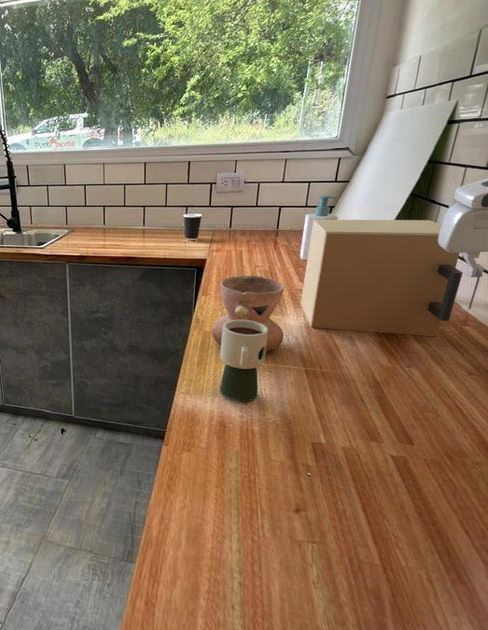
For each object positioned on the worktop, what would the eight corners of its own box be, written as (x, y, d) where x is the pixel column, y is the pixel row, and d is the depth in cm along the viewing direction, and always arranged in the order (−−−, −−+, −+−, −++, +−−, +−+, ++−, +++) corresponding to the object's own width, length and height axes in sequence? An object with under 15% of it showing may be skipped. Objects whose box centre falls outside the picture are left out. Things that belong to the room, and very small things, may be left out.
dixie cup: (203, 240, 197) (205, 215, 193) (187, 242, 196) (188, 217, 192) (195, 237, 204) (196, 213, 200) (179, 239, 203) (180, 214, 199)
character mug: (261, 414, 74) (271, 342, 69) (216, 408, 76) (222, 338, 71) (257, 382, 83) (265, 317, 78) (217, 377, 85) (223, 314, 81)
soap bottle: (331, 262, 156) (343, 197, 148) (302, 261, 158) (312, 197, 151) (326, 255, 165) (336, 194, 157) (298, 254, 167) (307, 194, 160)
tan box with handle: (449, 349, 92) (480, 242, 84) (316, 338, 99) (333, 239, 91) (434, 335, 98) (462, 234, 90) (310, 325, 106) (325, 232, 98)
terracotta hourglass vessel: (273, 369, 87) (282, 300, 82) (200, 353, 95) (204, 290, 90) (288, 335, 101) (297, 275, 96) (223, 324, 109) (228, 268, 104)
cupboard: (434, 335, 98) (461, 233, 90) (310, 326, 106) (325, 231, 98) (408, 310, 113) (430, 220, 104) (300, 303, 120) (313, 219, 112)
